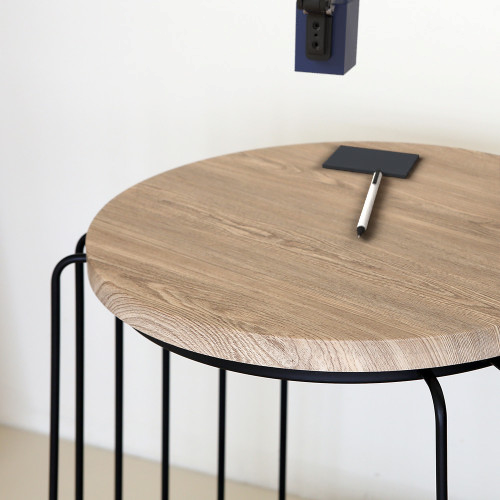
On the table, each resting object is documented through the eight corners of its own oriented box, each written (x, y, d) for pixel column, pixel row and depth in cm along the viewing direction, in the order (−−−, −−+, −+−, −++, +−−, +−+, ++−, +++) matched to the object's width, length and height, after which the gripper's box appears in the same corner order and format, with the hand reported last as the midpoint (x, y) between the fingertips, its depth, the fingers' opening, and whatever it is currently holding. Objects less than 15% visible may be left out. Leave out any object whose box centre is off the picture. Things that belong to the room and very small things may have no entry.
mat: (419, 157, 98) (419, 154, 98) (405, 178, 92) (405, 175, 91) (340, 148, 102) (340, 144, 101) (322, 167, 95) (322, 164, 95)
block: (356, 65, 73) (359, -4, 70) (343, 75, 69) (347, 4, 67) (308, 61, 74) (310, -6, 72) (294, 71, 71) (295, 1, 68)
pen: (382, 174, 92) (383, 165, 92) (363, 241, 76) (363, 230, 75) (375, 173, 93) (375, 164, 92) (353, 240, 76) (354, 230, 75)
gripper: (359, -166, 57) (347, 74, 64) (399, -159, 69) (384, 42, 76) (260, -164, 59) (259, 67, 66) (315, -158, 71) (309, 37, 78)
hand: (326, 52), depth 71 cm, fingers closed on block, 4 cm apart
